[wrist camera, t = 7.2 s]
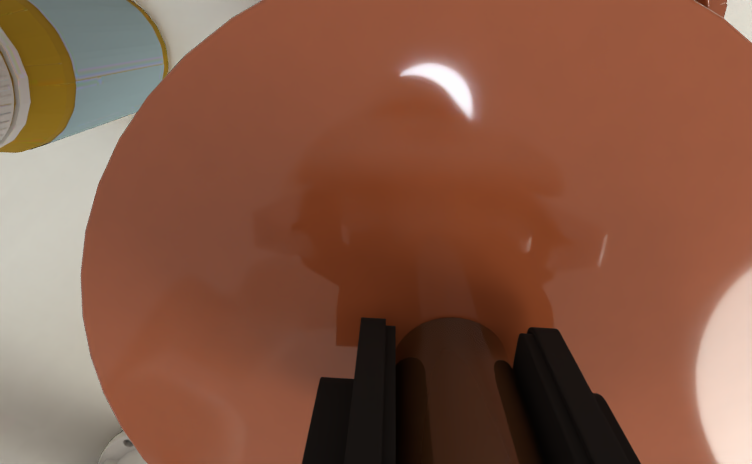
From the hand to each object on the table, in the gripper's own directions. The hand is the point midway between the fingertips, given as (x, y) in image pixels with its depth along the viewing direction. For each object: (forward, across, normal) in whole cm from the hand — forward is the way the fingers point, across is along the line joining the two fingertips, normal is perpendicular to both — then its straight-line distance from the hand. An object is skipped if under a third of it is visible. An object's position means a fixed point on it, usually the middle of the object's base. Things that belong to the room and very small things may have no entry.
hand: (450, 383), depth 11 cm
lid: (+1, 0, 0) cm, 1 cm away
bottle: (+23, +18, -5) cm, 30 cm away
